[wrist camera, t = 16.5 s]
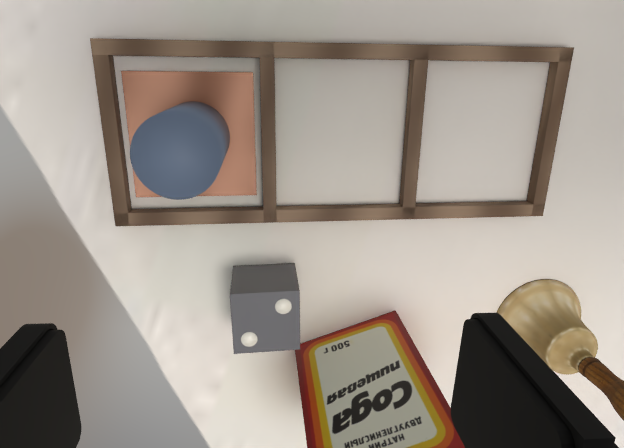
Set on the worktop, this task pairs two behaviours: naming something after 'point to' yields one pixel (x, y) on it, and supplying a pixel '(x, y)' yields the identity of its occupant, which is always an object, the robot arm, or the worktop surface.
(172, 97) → the board
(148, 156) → the blue cylinder
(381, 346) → the baking soda box
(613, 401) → the hand bell
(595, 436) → the robot arm
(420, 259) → the worktop surface
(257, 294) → the die
